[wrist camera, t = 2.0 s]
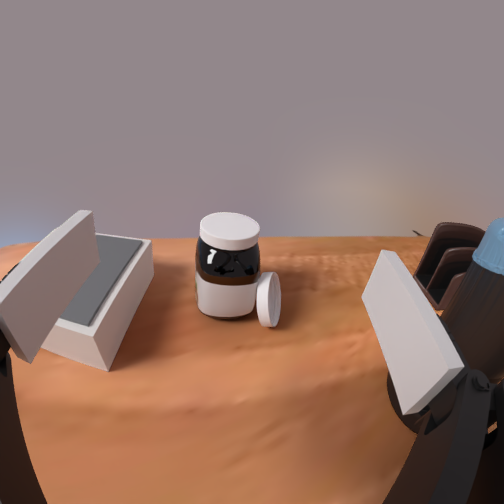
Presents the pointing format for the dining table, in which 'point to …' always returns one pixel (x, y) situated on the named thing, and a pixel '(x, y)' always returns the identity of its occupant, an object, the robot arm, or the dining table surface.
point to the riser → (103, 302)
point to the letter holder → (446, 261)
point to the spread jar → (233, 270)
